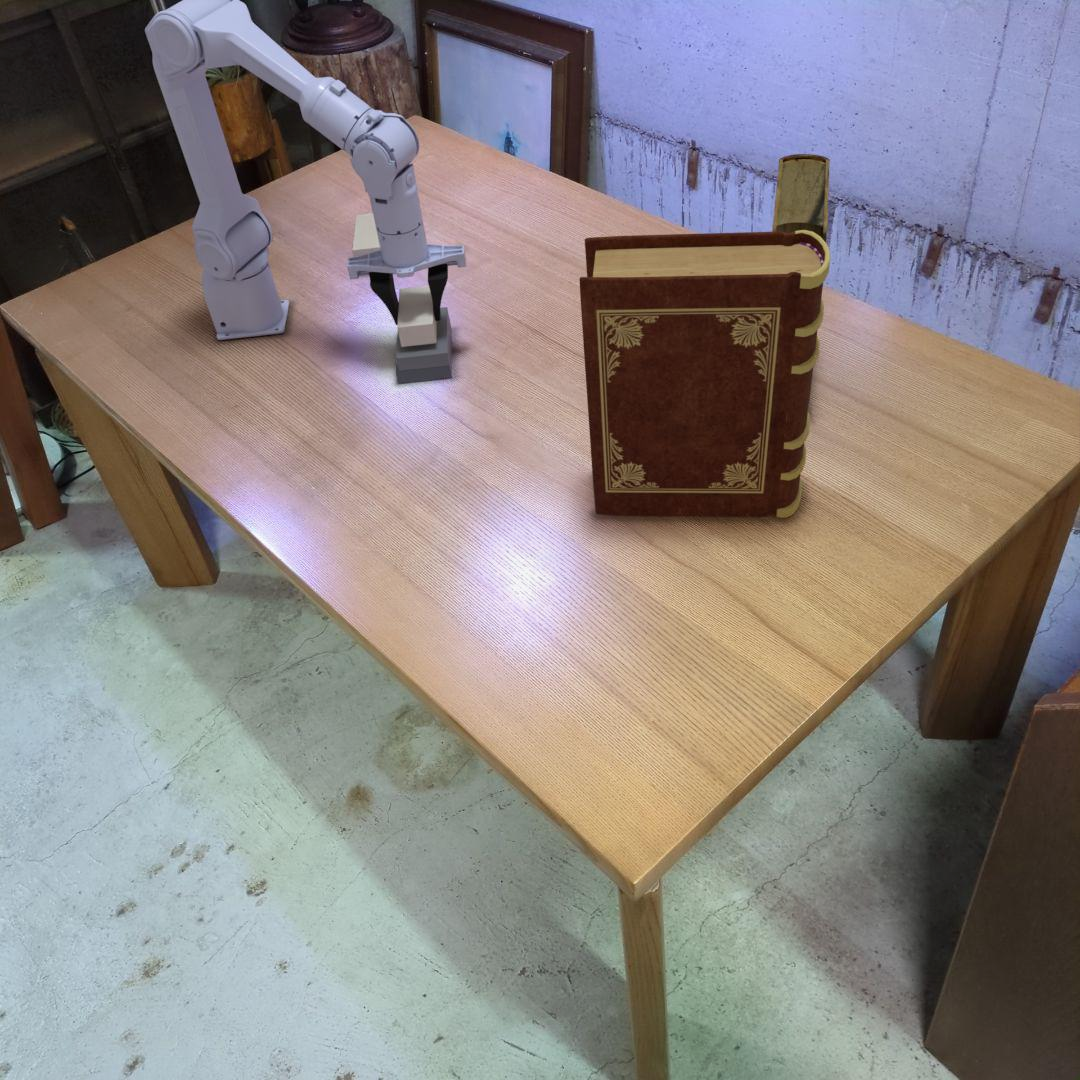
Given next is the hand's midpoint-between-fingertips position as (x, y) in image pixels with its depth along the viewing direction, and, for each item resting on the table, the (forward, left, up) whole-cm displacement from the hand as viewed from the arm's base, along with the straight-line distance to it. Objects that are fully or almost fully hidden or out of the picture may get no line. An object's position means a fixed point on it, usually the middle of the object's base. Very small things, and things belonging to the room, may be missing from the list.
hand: (417, 318), depth 137 cm
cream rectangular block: (0, 0, -1) cm, 1 cm away
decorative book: (+31, -32, -6) cm, 45 cm away
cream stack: (-7, +28, -6) cm, 29 cm away
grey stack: (0, 0, -6) cm, 6 cm away
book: (+45, -13, -6) cm, 47 cm away
